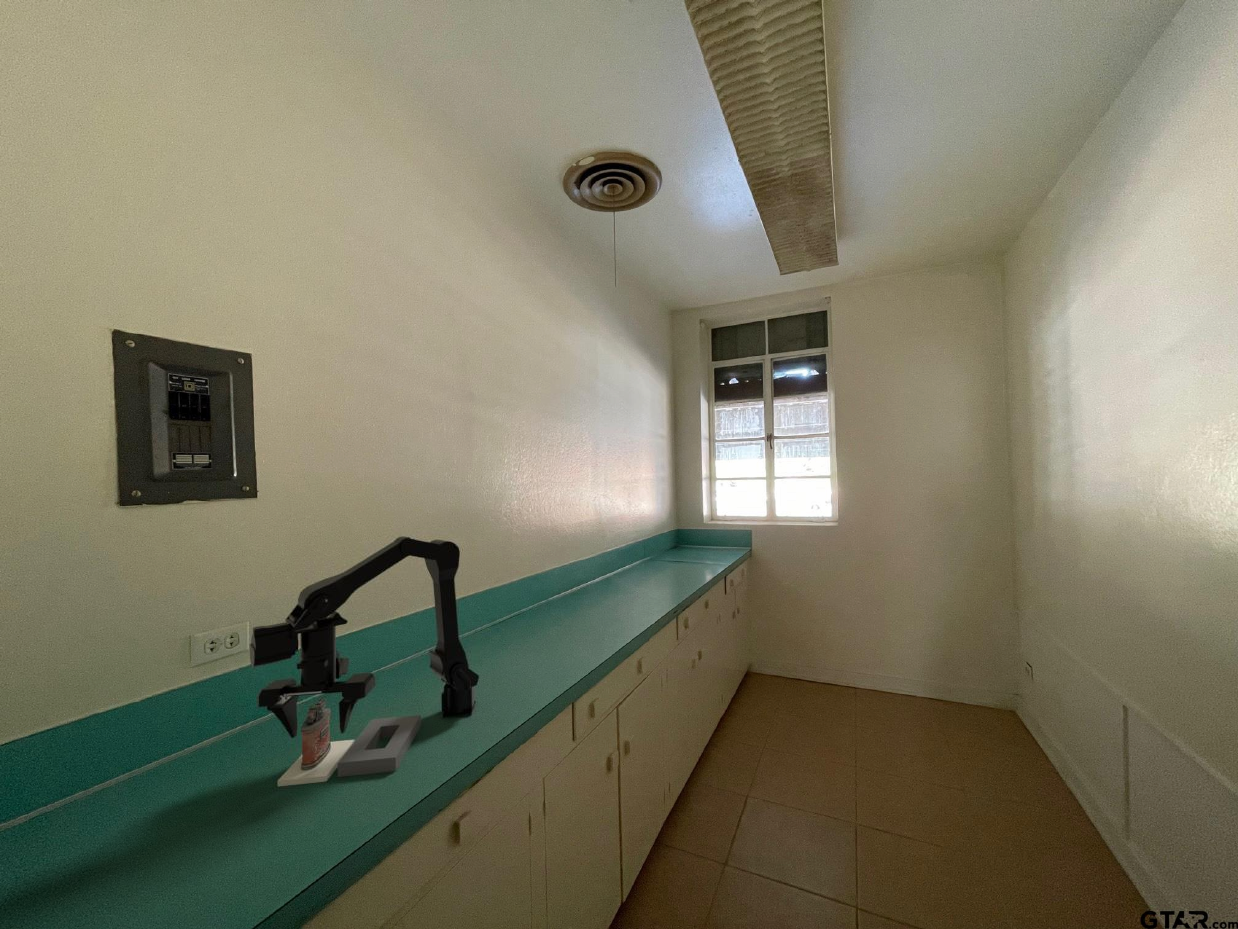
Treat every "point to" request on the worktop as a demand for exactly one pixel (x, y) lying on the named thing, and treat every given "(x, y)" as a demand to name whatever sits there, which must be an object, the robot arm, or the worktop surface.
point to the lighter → (315, 736)
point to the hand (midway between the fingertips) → (318, 734)
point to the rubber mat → (318, 773)
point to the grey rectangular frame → (386, 759)
